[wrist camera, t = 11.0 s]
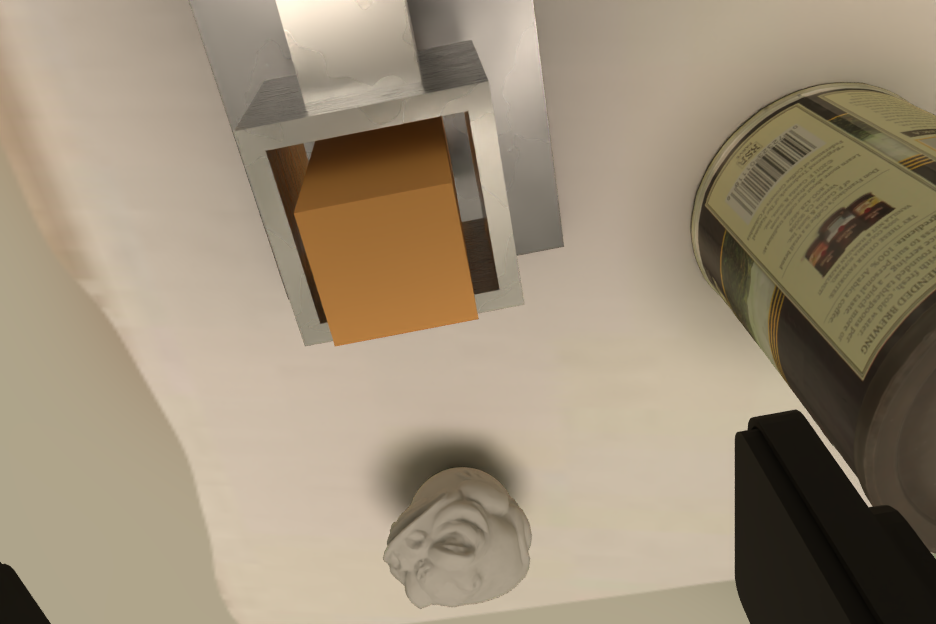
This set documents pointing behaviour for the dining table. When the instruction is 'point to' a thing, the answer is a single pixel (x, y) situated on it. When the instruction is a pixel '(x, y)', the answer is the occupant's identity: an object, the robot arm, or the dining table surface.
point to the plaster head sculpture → (459, 541)
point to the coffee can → (838, 273)
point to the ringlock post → (391, 116)
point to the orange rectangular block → (385, 232)
